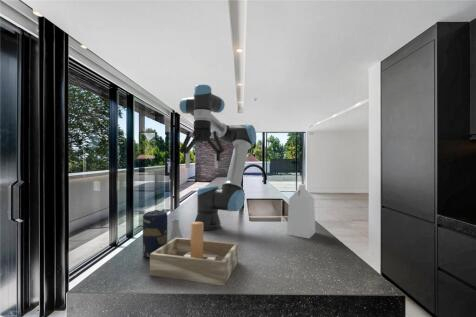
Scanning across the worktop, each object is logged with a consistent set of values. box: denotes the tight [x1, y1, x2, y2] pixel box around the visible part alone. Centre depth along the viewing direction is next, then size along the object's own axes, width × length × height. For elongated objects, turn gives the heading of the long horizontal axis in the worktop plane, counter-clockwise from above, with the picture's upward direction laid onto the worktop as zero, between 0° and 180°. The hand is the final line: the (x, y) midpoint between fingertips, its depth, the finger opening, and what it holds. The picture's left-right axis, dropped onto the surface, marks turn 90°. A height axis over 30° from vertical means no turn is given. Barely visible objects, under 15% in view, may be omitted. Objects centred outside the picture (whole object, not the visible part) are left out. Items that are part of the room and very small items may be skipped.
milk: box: [286, 183, 316, 239], centre depth 132 cm, size 12×12×26 cm
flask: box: [167, 218, 184, 243], centre depth 117 cm, size 7×7×10 cm
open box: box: [149, 237, 239, 286], centre depth 89 cm, size 18×26×7 cm
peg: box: [190, 221, 204, 259], centre depth 89 cm, size 4×4×16 cm
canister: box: [142, 209, 168, 258], centre depth 101 cm, size 10×10×18 cm
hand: (201, 168), depth 111 cm, fingers open, 13 cm apart
